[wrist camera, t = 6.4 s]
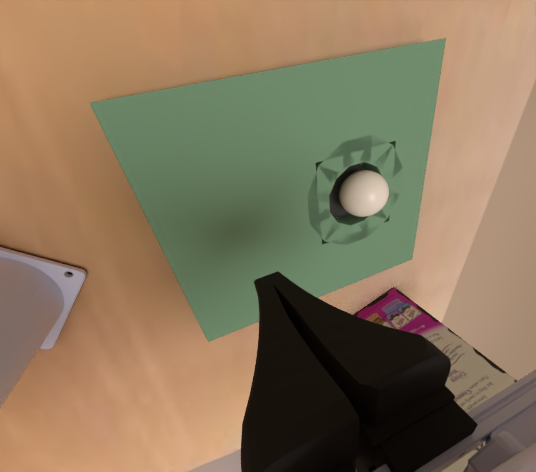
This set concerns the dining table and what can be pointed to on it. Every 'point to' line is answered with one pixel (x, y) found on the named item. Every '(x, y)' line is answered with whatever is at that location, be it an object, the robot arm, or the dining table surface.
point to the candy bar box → (459, 351)
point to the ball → (364, 193)
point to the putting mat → (279, 173)
